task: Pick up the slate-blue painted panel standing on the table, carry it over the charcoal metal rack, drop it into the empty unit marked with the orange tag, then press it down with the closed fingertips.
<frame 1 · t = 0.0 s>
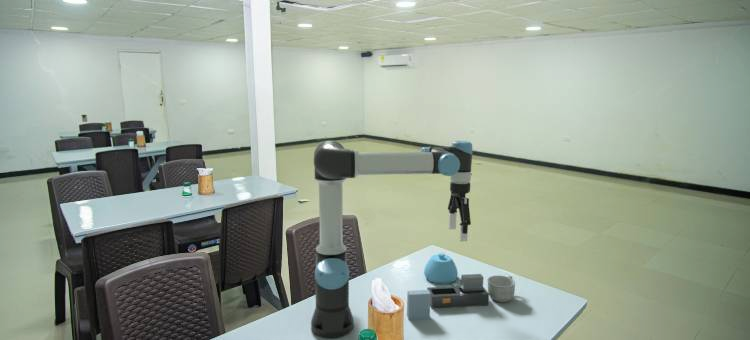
hand: (457, 234, 160), 28 cm above the table, fingers open, 13 cm apart
sugar bowl: (440, 278, 186), on the table
teacup: (502, 297, 169), on the table
panel: (418, 316, 153), on the table
rack: (457, 302, 164), on the table
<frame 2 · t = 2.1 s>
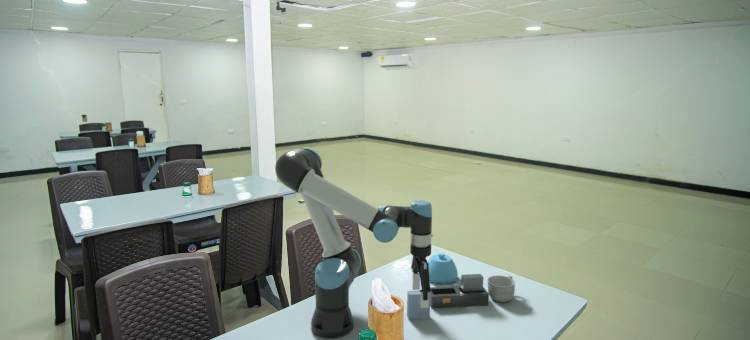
hand: (420, 298, 152), 8 cm above the table, fingers open, 13 cm apart
nothing on the table moved.
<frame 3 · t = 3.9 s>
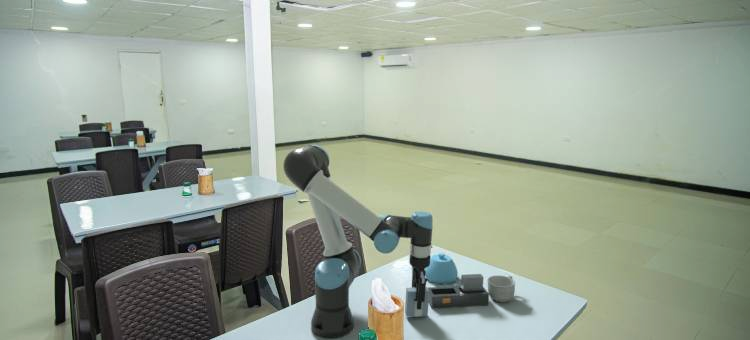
hand: (416, 313, 153), 1 cm above the table, fingers closed on panel, 3 cm apart
panel: (416, 313, 153), point 1 cm above the table, touching gripper
everything else where it was.
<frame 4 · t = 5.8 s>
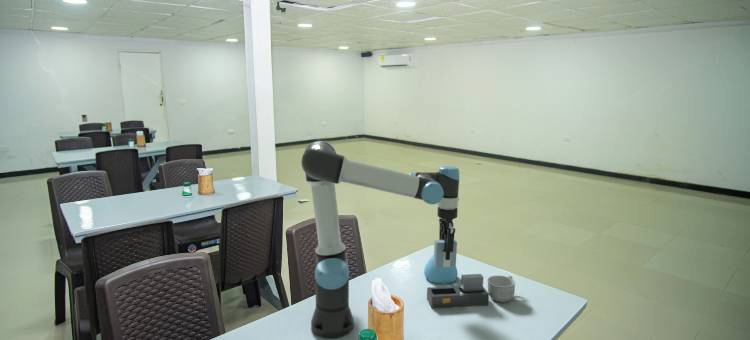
hand: (445, 264, 160), 16 cm above the table, fingers closed on panel, 3 cm apart
panel: (444, 265, 160), point 16 cm above the table, touching gripper
everything else where it was.
when the fingers open (6 cm above the table, at t = 7.8 s): panel drops 5 cm, resting on rack.
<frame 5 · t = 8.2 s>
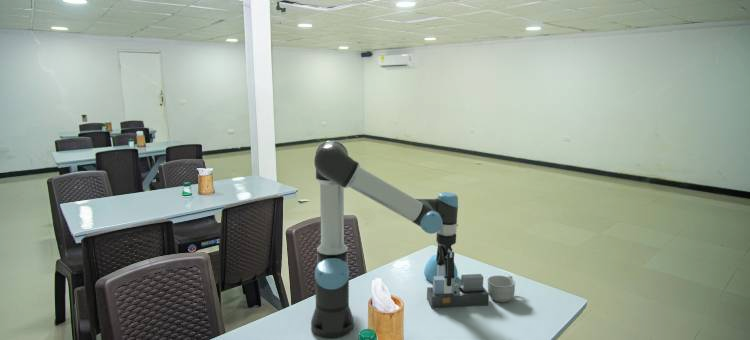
hand: (443, 286, 162), 7 cm above the table, fingers open, 9 cm apart
panel: (442, 300, 163), point 1 cm above the table, touching rack
everything else where it was.
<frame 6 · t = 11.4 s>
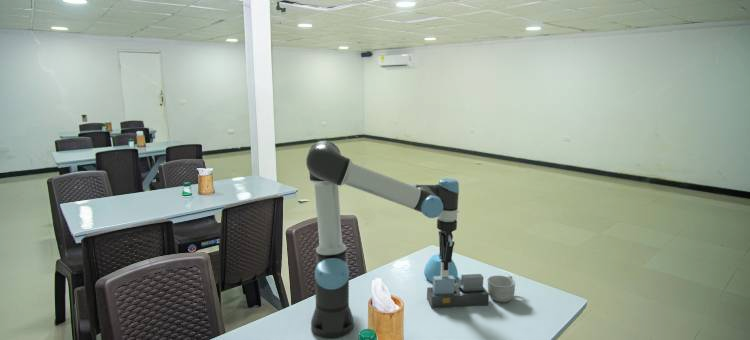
hand: (444, 276, 161), 11 cm above the table, fingers closed
nothing on the table moved.
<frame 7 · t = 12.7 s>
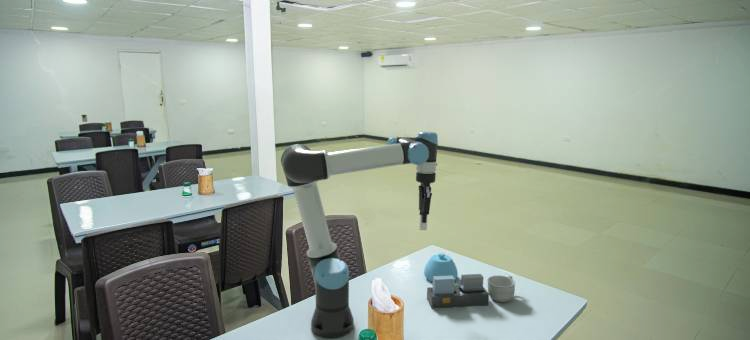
hand: (422, 229, 164), 29 cm above the table, fingers closed
nothing on the table moved.
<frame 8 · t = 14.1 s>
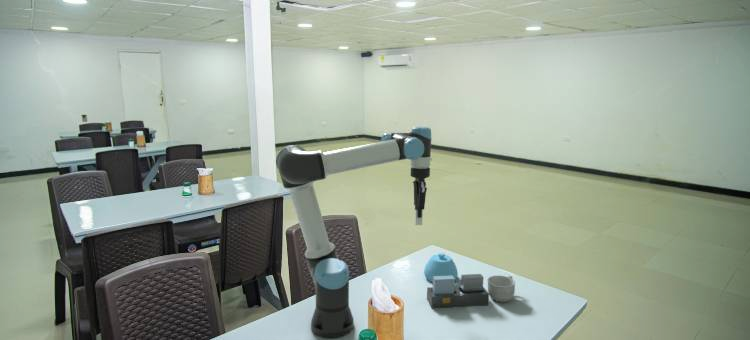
hand: (418, 224, 164), 30 cm above the table, fingers closed
nothing on the table moved.
at the end: panel 0.3 cm from the target spot on the rack, point 1.0 cm above the rack's base; panel tilted 0°; the gripper is holding nothing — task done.
